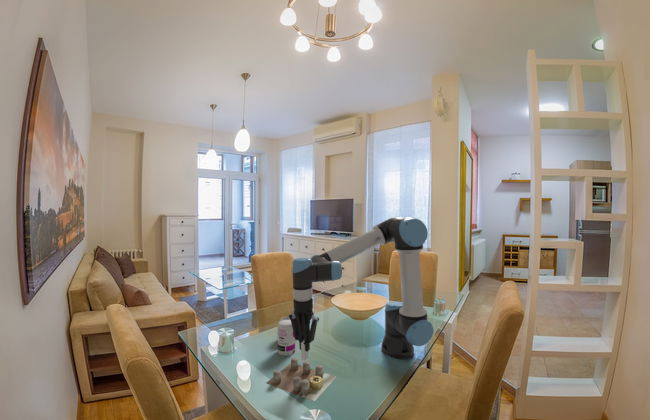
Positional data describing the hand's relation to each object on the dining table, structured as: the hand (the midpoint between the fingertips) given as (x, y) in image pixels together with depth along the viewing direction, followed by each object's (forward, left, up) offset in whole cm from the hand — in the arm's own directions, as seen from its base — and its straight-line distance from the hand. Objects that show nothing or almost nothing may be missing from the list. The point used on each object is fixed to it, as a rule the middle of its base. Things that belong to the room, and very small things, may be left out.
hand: (304, 358), depth 114 cm
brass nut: (-5, +1, -9) cm, 10 cm away
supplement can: (+21, -15, -10) cm, 28 cm away
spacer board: (+2, 0, -10) cm, 10 cm away
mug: (+29, -30, -10) cm, 43 cm away
